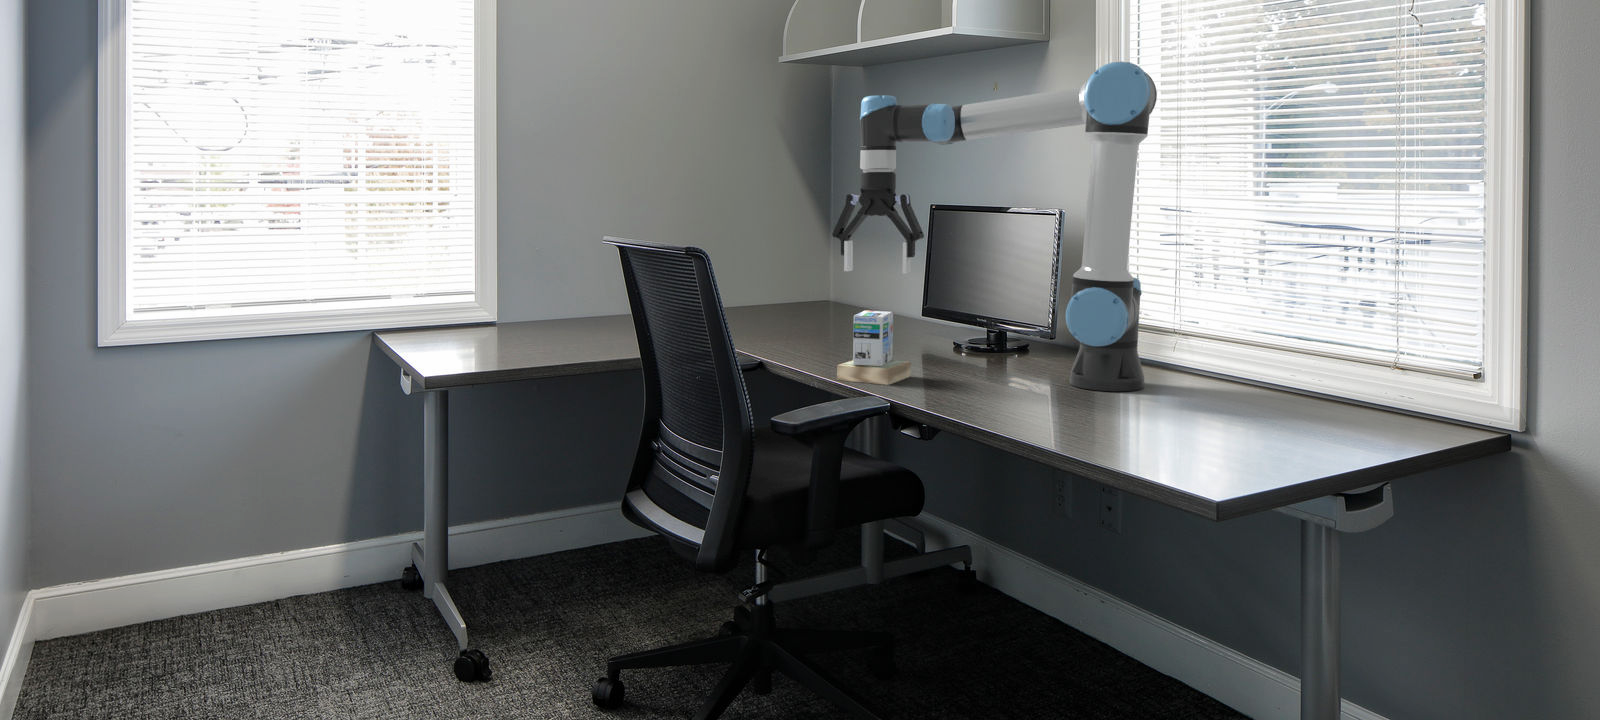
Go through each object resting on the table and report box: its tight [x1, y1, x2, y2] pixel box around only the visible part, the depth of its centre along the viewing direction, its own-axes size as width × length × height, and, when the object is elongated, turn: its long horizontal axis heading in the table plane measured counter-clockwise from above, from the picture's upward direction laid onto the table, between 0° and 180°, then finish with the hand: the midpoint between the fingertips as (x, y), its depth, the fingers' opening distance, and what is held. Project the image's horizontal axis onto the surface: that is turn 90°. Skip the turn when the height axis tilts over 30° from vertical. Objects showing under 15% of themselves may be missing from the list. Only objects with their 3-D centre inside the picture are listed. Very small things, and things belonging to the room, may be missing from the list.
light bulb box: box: [852, 309, 894, 366], centre depth 241 cm, size 11×7×11 cm, turn 164°
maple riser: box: [836, 359, 912, 386], centre depth 242 cm, size 12×12×3 cm
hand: (877, 272), depth 239 cm, fingers open, 13 cm apart
